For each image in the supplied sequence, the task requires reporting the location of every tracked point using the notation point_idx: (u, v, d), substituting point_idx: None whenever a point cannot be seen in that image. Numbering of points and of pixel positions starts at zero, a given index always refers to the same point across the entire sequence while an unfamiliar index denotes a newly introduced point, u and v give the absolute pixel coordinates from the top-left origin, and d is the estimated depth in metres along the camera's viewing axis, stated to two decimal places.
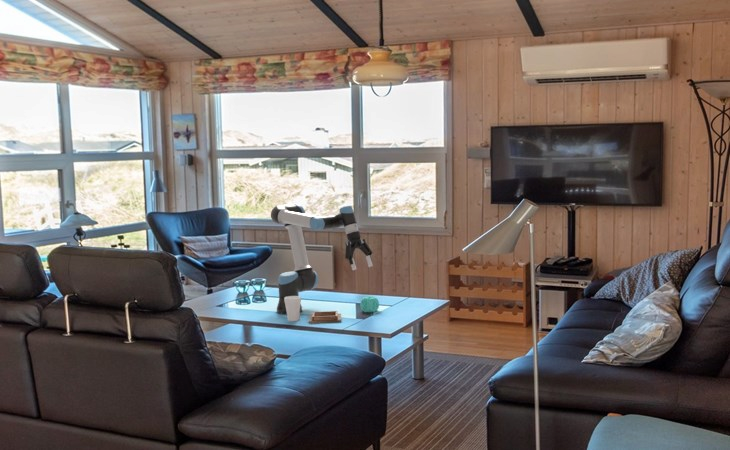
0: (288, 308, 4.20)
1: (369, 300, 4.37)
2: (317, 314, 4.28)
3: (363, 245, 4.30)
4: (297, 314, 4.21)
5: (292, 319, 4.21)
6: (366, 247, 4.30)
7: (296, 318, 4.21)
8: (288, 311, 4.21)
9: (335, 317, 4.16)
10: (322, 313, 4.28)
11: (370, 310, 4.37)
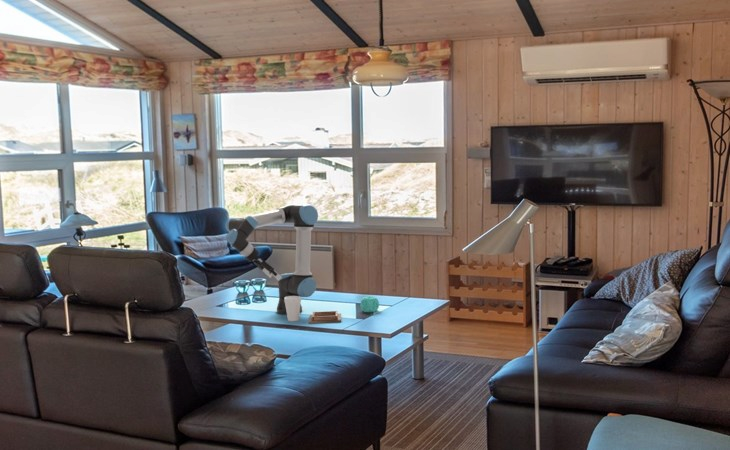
0: (288, 308, 4.20)
1: (369, 300, 4.37)
2: (317, 314, 4.28)
3: None
4: (297, 314, 4.21)
5: (292, 319, 4.21)
6: None
7: (296, 318, 4.21)
8: (288, 311, 4.21)
9: (335, 317, 4.16)
10: (322, 313, 4.28)
11: (370, 310, 4.37)
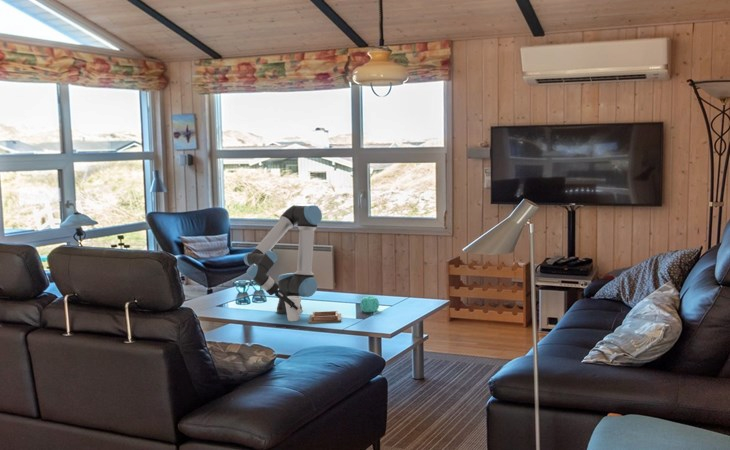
0: (288, 308, 4.20)
1: (369, 300, 4.37)
2: (317, 314, 4.28)
3: None
4: (297, 314, 4.21)
5: (292, 319, 4.21)
6: None
7: (296, 318, 4.21)
8: (288, 311, 4.21)
9: (335, 317, 4.16)
10: (322, 313, 4.28)
11: (370, 310, 4.37)
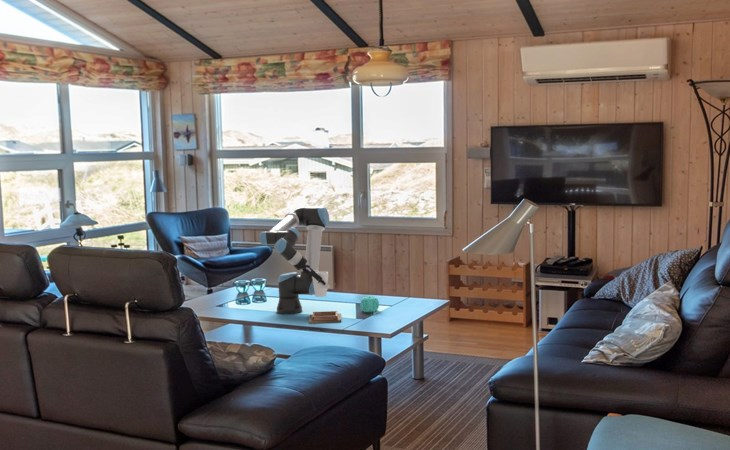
0: (315, 283, 4.17)
1: (369, 300, 4.37)
2: (317, 314, 4.28)
3: None
4: (324, 289, 4.18)
5: (319, 294, 4.17)
6: None
7: (323, 293, 4.18)
8: (315, 286, 4.17)
9: (335, 317, 4.16)
10: (322, 313, 4.28)
11: (370, 310, 4.37)
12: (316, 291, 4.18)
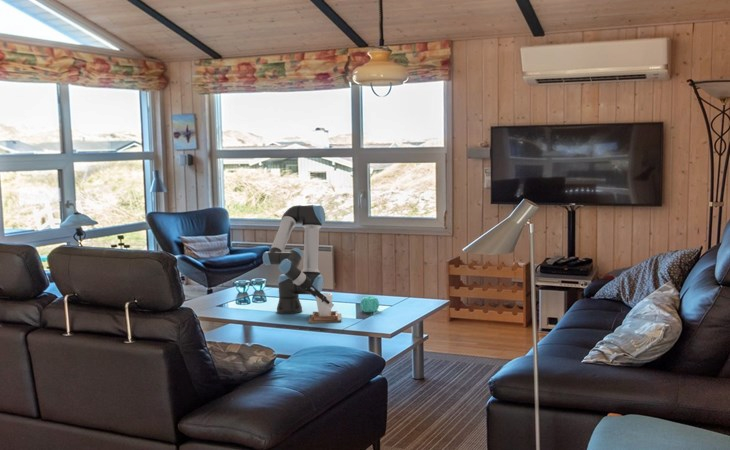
0: (320, 305, 4.19)
1: (369, 300, 4.37)
2: (317, 314, 4.28)
3: None
4: (329, 311, 4.20)
5: None
6: None
7: (328, 315, 4.20)
8: (320, 308, 4.19)
9: (335, 317, 4.16)
10: None
11: (370, 310, 4.37)
12: (320, 313, 4.20)
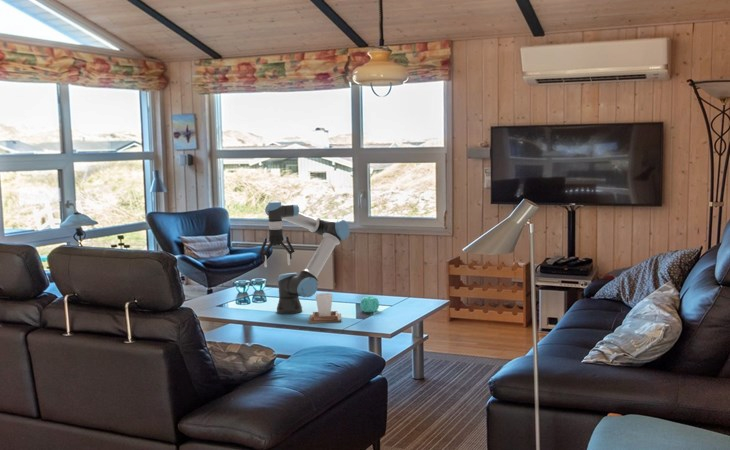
0: (320, 305, 4.18)
1: (369, 300, 4.37)
2: (317, 314, 4.28)
3: (265, 244, 4.20)
4: (329, 311, 4.20)
5: None
6: None
7: (328, 315, 4.20)
8: (320, 308, 4.19)
9: (335, 317, 4.16)
10: None
11: (370, 310, 4.37)
12: (320, 313, 4.20)
